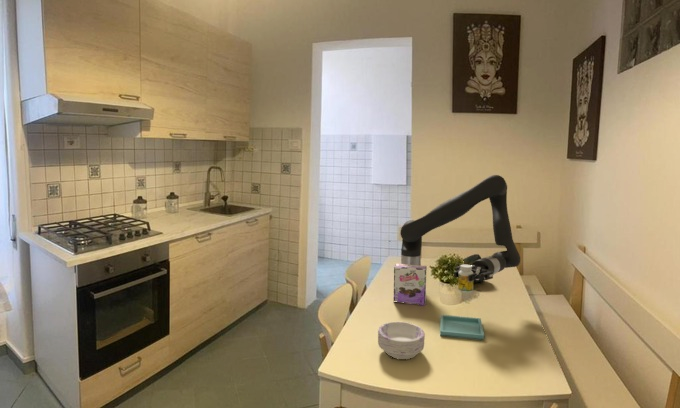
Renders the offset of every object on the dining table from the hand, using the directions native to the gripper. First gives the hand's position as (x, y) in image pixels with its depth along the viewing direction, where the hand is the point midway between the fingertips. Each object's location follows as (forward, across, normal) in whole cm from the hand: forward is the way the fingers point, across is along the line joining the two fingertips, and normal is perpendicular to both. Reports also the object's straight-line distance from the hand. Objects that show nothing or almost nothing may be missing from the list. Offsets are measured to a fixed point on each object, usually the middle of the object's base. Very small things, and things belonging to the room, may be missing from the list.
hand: (462, 276), depth 149 cm
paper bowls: (+29, -4, +21) cm, 36 cm away
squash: (-53, -27, +21) cm, 63 cm away
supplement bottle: (-3, 0, +6) cm, 7 cm away
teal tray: (-1, 0, +21) cm, 21 cm away
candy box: (-8, -31, +21) cm, 38 cm away
